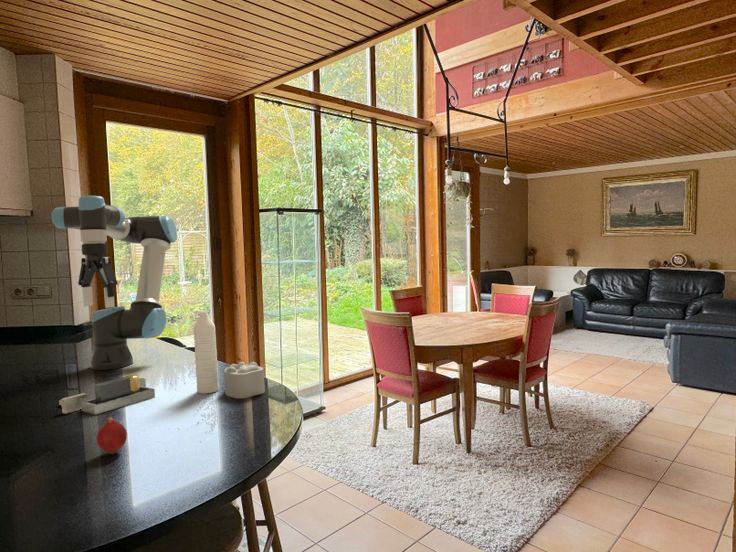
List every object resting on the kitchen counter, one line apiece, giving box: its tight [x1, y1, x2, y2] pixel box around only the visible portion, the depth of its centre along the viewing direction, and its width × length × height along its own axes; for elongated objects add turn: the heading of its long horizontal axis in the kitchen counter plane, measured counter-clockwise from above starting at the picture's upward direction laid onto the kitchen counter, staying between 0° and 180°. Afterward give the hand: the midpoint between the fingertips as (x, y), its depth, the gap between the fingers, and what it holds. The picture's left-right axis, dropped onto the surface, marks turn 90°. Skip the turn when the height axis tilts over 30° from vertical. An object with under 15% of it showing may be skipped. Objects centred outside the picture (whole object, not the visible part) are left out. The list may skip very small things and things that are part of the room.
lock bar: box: [94, 374, 140, 404], centre depth 141 cm, size 12×4×7 cm, turn 147°
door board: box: [58, 377, 156, 416], centre depth 144 cm, size 24×19×4 cm
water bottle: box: [193, 309, 220, 395], centre depth 151 cm, size 9×6×25 cm
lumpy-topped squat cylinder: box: [223, 361, 266, 400], centre depth 149 cm, size 10×13×9 cm
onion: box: [96, 417, 128, 455], centre depth 105 cm, size 6×6×8 cm
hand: (98, 306), depth 162 cm, fingers open, 13 cm apart
